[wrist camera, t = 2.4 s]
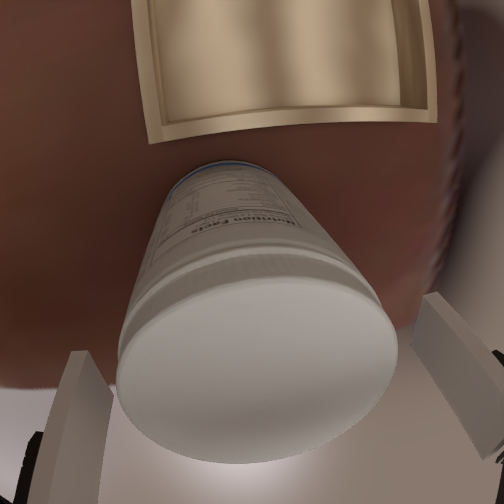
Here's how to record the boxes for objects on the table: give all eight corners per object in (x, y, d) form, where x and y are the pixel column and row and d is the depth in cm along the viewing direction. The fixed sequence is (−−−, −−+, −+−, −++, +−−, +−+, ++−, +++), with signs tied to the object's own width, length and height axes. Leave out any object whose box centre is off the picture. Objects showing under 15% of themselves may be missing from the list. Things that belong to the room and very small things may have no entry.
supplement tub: (305, 264, 25) (392, 426, 12) (185, 298, 24) (186, 481, 12) (279, 138, 20) (414, 229, 7) (138, 180, 20) (48, 332, 7)
